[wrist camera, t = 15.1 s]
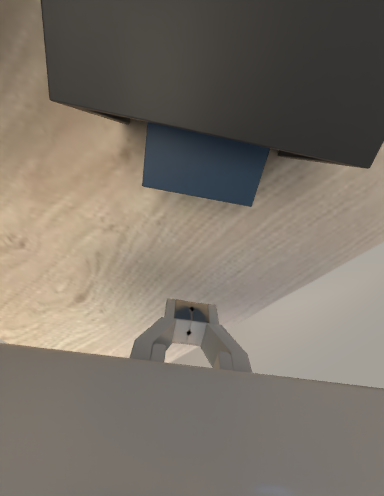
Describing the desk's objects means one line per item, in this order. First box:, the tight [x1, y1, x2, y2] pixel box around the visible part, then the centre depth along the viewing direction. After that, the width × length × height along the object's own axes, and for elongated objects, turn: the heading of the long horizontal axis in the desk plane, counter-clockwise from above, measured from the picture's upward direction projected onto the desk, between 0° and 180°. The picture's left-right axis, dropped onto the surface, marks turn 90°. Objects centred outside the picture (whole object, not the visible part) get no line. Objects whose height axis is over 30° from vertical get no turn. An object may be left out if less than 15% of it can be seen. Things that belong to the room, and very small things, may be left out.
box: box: [142, 122, 270, 207], centre depth 12 cm, size 6×9×6 cm
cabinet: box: [41, 0, 384, 169], centre depth 9 cm, size 12×11×8 cm
